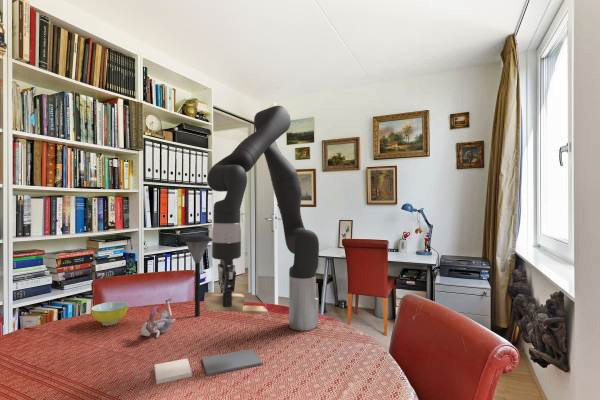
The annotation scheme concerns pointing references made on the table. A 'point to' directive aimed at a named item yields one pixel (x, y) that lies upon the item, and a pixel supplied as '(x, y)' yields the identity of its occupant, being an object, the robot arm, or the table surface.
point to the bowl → (109, 312)
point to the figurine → (158, 322)
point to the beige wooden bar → (216, 304)
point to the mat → (230, 361)
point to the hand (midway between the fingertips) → (226, 304)
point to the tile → (172, 371)
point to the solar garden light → (197, 262)
